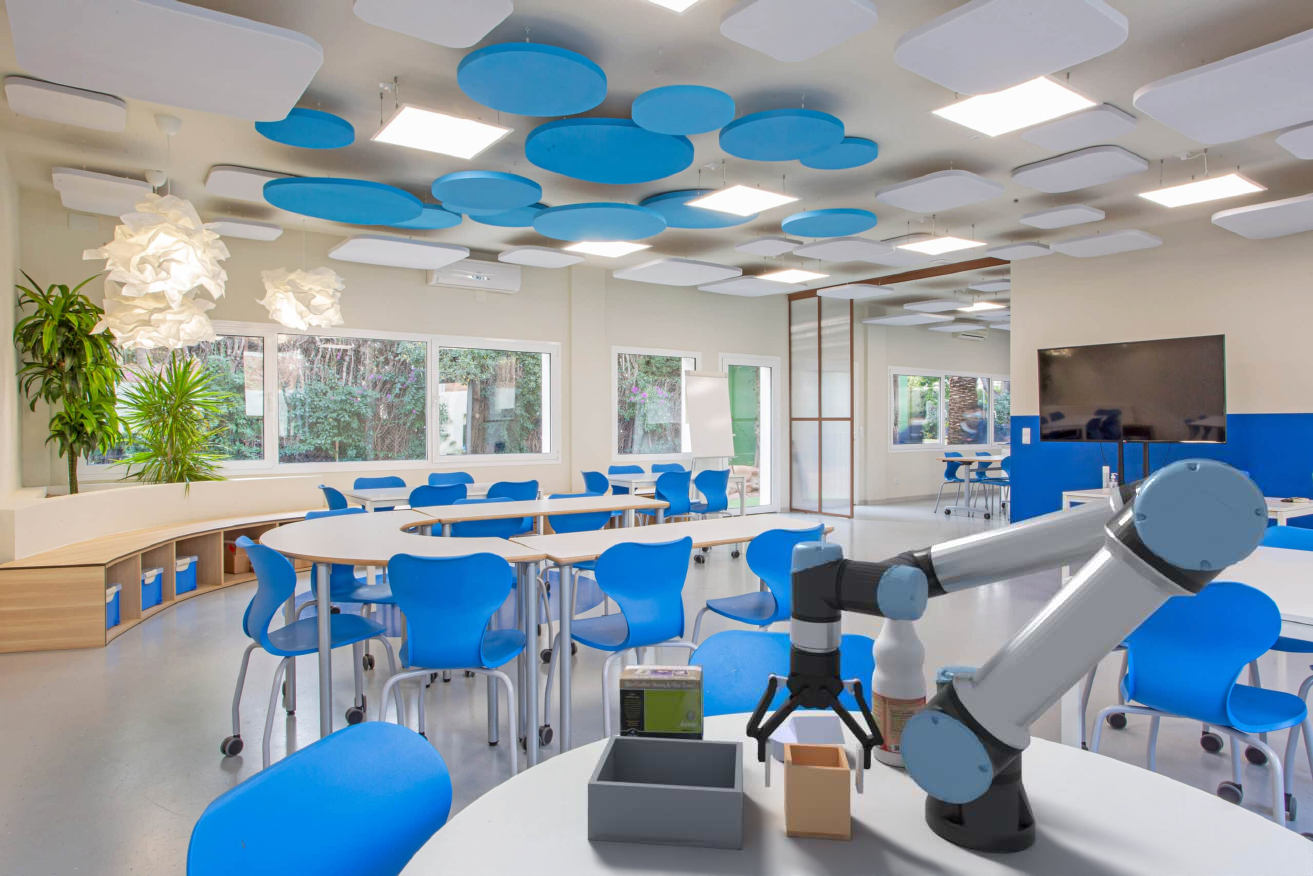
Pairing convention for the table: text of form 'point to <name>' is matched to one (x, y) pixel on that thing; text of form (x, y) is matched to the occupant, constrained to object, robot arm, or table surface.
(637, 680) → the tea box
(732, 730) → the table surface
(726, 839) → the large crate
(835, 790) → the small crate
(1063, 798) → the table surface
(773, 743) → the wedge on round base
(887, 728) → the fruit juice
